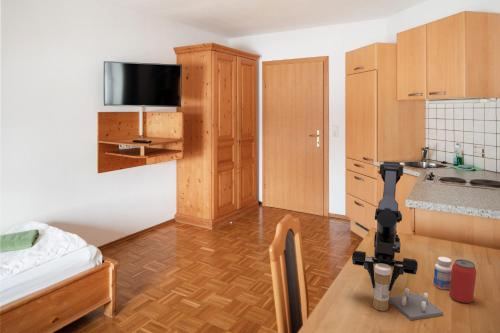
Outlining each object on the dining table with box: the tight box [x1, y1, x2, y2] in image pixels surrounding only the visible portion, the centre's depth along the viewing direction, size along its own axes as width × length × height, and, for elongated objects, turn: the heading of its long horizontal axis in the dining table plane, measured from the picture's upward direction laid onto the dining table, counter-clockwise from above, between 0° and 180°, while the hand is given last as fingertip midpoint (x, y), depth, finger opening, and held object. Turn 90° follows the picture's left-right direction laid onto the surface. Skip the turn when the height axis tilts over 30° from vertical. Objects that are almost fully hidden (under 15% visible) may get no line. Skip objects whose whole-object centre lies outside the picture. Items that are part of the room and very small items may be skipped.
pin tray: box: [388, 287, 444, 321], centre depth 109 cm, size 11×11×4 cm
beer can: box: [448, 258, 477, 304], centre depth 113 cm, size 7×7×12 cm
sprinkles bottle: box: [372, 263, 392, 311], centre depth 108 cm, size 5×5×13 cm
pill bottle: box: [433, 256, 453, 290], centre depth 121 cm, size 6×5×10 cm
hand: (381, 289), depth 107 cm, fingers closed on sprinkles bottle, 4 cm apart
